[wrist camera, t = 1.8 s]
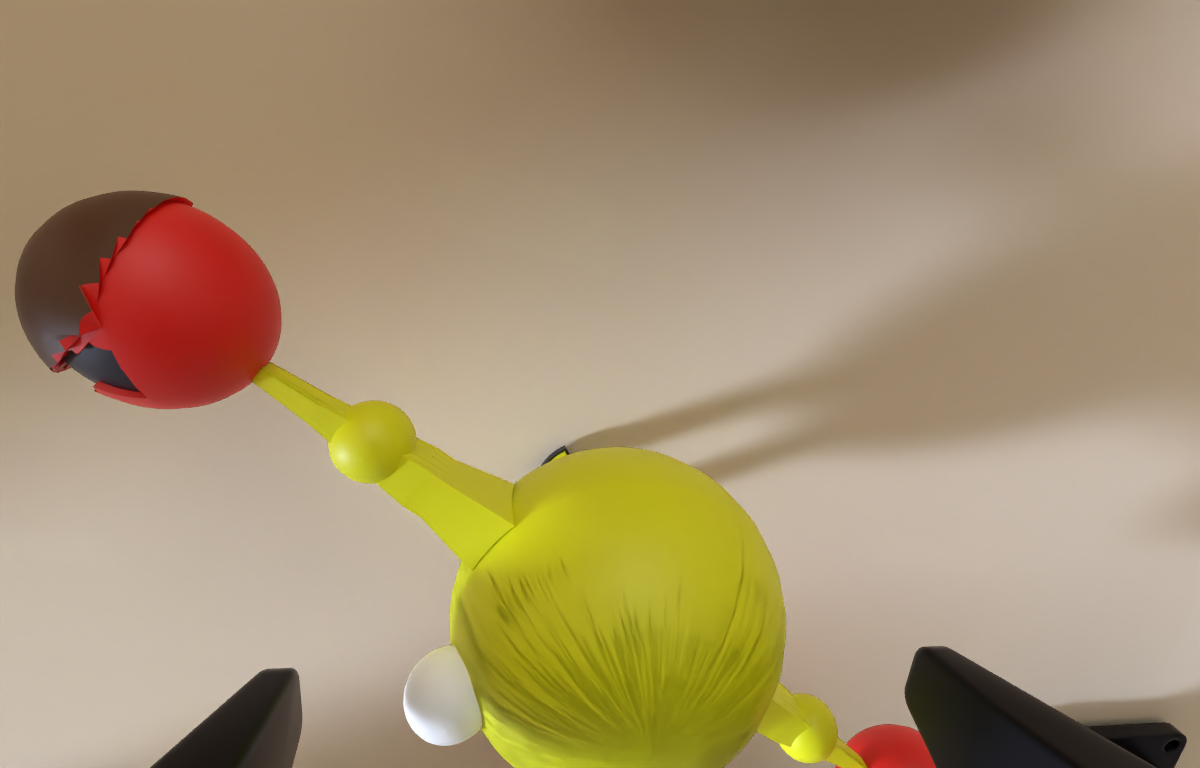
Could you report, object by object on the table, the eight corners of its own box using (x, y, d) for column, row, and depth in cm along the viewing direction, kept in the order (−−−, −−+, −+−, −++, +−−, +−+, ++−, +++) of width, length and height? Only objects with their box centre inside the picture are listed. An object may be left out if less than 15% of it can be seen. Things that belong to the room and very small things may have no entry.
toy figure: (123, 335, 11) (-353, 538, 5) (296, 94, 11) (-23, -19, 4) (759, 736, 17) (906, 1069, 11) (906, 601, 16) (1159, 876, 10)
